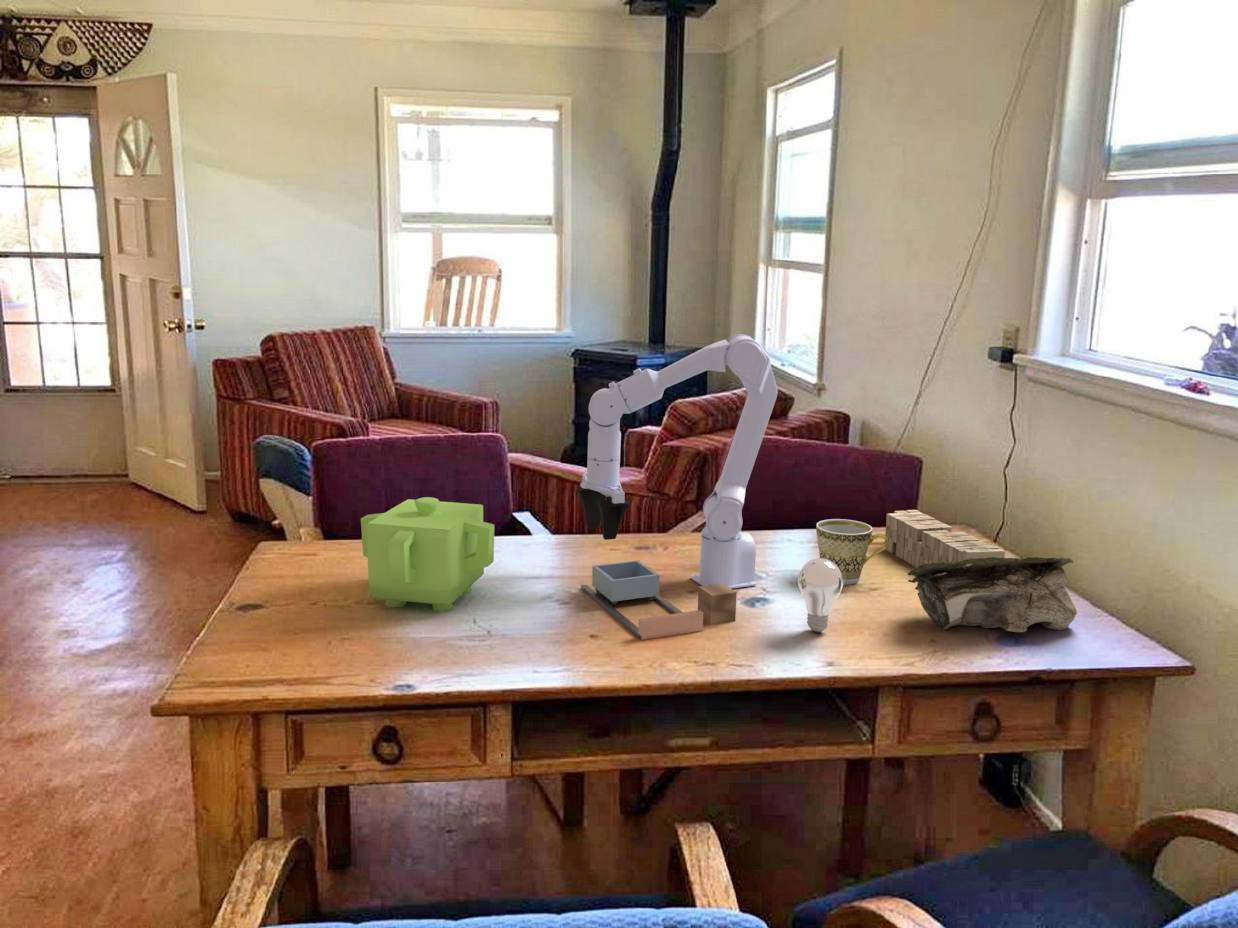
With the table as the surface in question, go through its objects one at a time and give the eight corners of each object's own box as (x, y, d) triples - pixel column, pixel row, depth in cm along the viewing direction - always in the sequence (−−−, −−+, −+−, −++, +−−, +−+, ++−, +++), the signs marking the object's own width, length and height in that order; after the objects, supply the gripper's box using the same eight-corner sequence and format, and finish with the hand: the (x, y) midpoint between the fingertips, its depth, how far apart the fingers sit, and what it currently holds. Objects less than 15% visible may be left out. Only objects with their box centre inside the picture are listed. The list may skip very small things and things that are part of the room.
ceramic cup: (807, 583, 181) (811, 529, 179) (818, 567, 190) (822, 516, 188) (881, 593, 176) (885, 539, 174) (889, 577, 185) (893, 524, 183)
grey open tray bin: (637, 585, 178) (637, 560, 177) (658, 601, 170) (659, 575, 169) (592, 590, 174) (592, 565, 173) (611, 607, 166) (612, 580, 165)
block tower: (880, 551, 205) (962, 595, 177) (882, 511, 203) (966, 549, 175) (914, 549, 206) (1002, 592, 179) (917, 509, 205) (1005, 546, 177)
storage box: (397, 569, 185) (394, 478, 181) (515, 579, 180) (514, 486, 177) (332, 617, 161) (327, 513, 157) (466, 630, 156) (464, 524, 153)
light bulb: (813, 643, 154) (818, 568, 151) (785, 627, 160) (790, 555, 157) (849, 636, 157) (854, 562, 154) (820, 621, 163) (825, 550, 160)
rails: (636, 581, 180) (636, 565, 180) (702, 630, 158) (703, 612, 157) (581, 588, 176) (581, 571, 176) (641, 640, 154) (641, 621, 153)
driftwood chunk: (906, 656, 162) (936, 616, 149) (888, 584, 169) (915, 540, 156) (1073, 647, 164) (1116, 607, 152) (1048, 577, 171) (1088, 534, 159)
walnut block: (721, 612, 166) (722, 583, 165) (735, 621, 162) (736, 592, 161) (697, 615, 165) (698, 586, 164) (710, 625, 161) (711, 595, 160)
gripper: (567, 450, 181) (565, 523, 184) (598, 468, 168) (595, 546, 171) (603, 448, 184) (601, 520, 187) (637, 466, 171) (633, 542, 174)
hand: (601, 532), depth 179 cm, fingers open, 7 cm apart
